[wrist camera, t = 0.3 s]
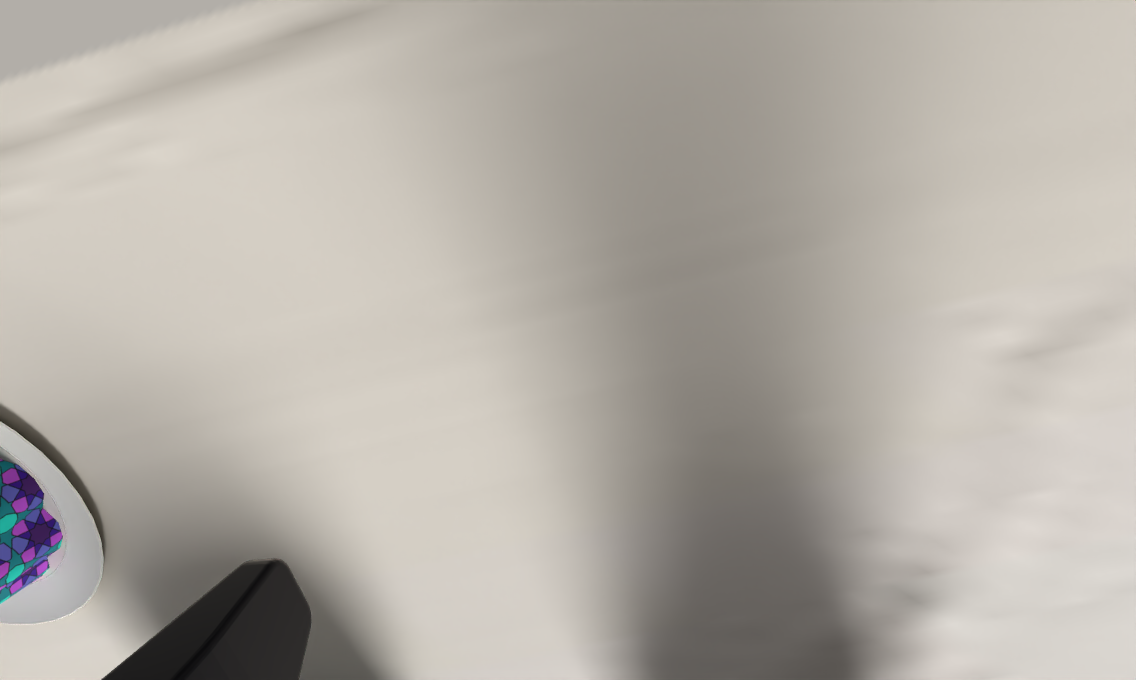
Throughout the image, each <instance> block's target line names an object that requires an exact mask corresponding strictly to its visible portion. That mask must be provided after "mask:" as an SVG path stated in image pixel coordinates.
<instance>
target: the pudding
mask: <svg viewBox="0 0 1136 680" xmlns="http://www.w3.org/2000/svg"><path fill="white" fill-rule="evenodd" d="M0 447H1V448H3V449H5V450H6V451H7V452H8V453H10V454H11V455H12V456H13V457H15V458H16V459H17V460H19V461H20V462H21V463H22V464H23V465H24V466H25V467H26V468H27V469H28V470H29V471H30V472H31V473H32V474H33V475H34V476H35V477H36V478H37V479H38V480H39V481H40V482H41V484H42V485H43V486H44V487H45V489H46V490H47V491H48V492H49V494H50V496H51V497H52V499H53V501H54V502H55V504H56V506H57V507H58V509H59V512H60V514H61V517H62V519H63V522H64V526H65V531H66V537H67V540H66V551H65V554H64V557H63V560H62V562H61V563H60V565H59V566H58V567H57V569H56V570H55V571H54V572H53V573H51V574H50V575H49V576H47V577H46V578H44V579H42V580H39V581H37V582H34V581H35V580H36V579H38V578H39V577H41V576H42V575H43V574H44V573H45V572H46V571H47V570H48V569H49V563H48V559H47V557H48V556H49V555H51V554H52V553H54V552H55V551H56V550H58V549H59V548H60V546H61V542H62V538H63V536H62V533H61V530H60V526H59V523H58V522H57V521H56V520H55V519H54V518H53V517H52V516H51V515H49V514H48V513H47V512H46V511H45V510H44V509H43V498H44V493H43V492H42V490H41V489H40V487H39V485H38V484H37V482H36V481H35V479H34V478H33V477H31V476H30V475H29V474H28V473H27V472H26V471H24V470H23V469H22V468H21V467H20V466H18V465H16V464H13V463H10V462H7V461H4V460H1V459H0V623H3V624H11V625H29V624H40V623H46V622H52V621H56V620H58V619H61V618H64V617H66V616H69V615H71V614H73V613H74V612H76V611H77V610H79V609H80V608H82V607H83V606H85V605H86V604H87V602H88V601H89V600H90V599H91V598H92V596H93V595H94V594H95V593H96V591H97V588H98V586H99V583H100V581H101V578H102V573H103V563H104V557H103V550H102V543H101V538H100V536H99V533H98V530H97V527H96V525H95V522H94V519H93V517H92V515H91V513H90V512H89V510H88V508H87V506H86V505H85V503H84V501H83V499H82V498H81V496H80V495H79V493H78V492H77V491H76V490H75V488H74V487H73V486H72V484H71V483H70V482H69V480H68V479H67V478H66V477H65V475H64V474H63V473H62V472H61V471H60V470H59V469H58V468H57V467H56V466H55V465H54V464H53V463H52V462H51V461H50V460H49V459H48V458H47V457H46V456H45V455H44V454H43V453H42V452H41V451H40V450H39V449H37V448H36V447H35V446H34V445H32V444H31V443H30V442H29V441H27V440H26V439H25V438H24V437H22V436H21V435H20V434H19V433H17V432H16V431H15V430H13V429H11V428H10V427H8V426H7V425H5V424H4V423H2V422H0ZM32 582H34V583H32Z"/></svg>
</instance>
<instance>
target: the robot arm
mask: <svg viewBox="0 0 1136 680" xmlns="http://www.w3.org/2000/svg"><path fill="white" fill-rule="evenodd" d="M310 628H311V612H310V608H309V605H308V602H307V601H306V599H305V597H304V595H303V593H302V591H301V589H300V587H299V585H298V584H297V582H296V580H295V578H294V576H293V574H292V572H291V570H290V568H289V567H288V565H287V564H286V563H285V562H284V561H282V560H281V559H277V558H274V559H260V560H251V561H247V562H245V563H243V564H242V565H240V566H239V567H238V568H237V569H235V570H234V571H233V572H232V573H231V574H229V575H228V576H227V577H226V578H224V579H223V580H222V581H221V582H220V583H218V584H217V585H216V586H215V587H214V588H212V589H211V590H210V591H209V592H207V593H206V594H205V595H204V596H203V597H201V598H200V599H199V600H198V601H196V602H195V603H194V604H193V605H192V606H190V607H189V608H188V609H187V610H186V611H184V612H183V613H182V614H181V615H179V616H178V617H177V618H176V619H175V620H173V621H172V622H171V623H170V624H168V625H167V626H166V627H165V628H164V629H162V630H161V631H160V632H159V633H157V634H156V635H155V636H154V637H153V638H151V639H150V640H149V641H148V642H147V643H145V644H144V645H143V646H142V647H140V648H139V649H138V650H137V651H136V652H134V653H133V654H132V655H131V656H129V657H128V658H127V659H126V660H125V661H123V662H122V663H121V664H120V665H118V666H117V667H116V668H115V669H114V670H112V671H111V672H110V673H109V674H108V675H106V676H105V677H104V678H103V679H101V680H299V677H300V672H301V668H302V664H303V659H304V655H305V651H306V646H307V642H308V637H309V633H310Z"/></svg>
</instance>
